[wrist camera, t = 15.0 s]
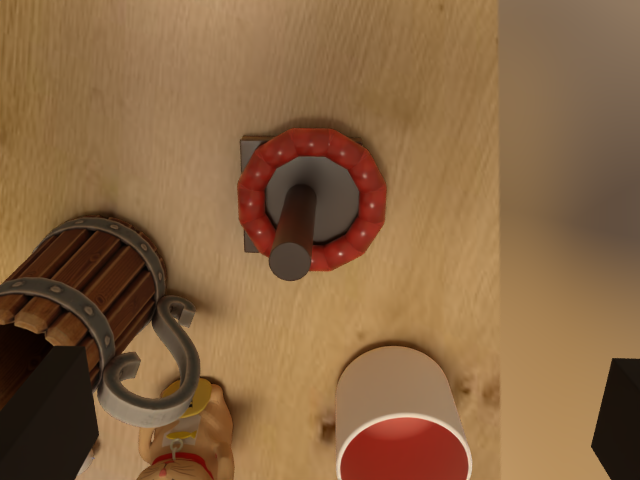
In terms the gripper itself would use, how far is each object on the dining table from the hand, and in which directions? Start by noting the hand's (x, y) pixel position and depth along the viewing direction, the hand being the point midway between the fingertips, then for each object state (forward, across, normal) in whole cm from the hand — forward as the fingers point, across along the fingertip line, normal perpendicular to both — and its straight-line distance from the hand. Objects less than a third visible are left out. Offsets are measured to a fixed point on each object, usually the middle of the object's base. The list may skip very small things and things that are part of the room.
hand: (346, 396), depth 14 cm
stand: (+31, -2, -4) cm, 31 cm away
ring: (+28, -2, -4) cm, 29 cm away
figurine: (+31, -11, -25) cm, 42 cm away
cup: (+31, +6, -22) cm, 38 cm away
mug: (+31, -16, -12) cm, 37 cm away
